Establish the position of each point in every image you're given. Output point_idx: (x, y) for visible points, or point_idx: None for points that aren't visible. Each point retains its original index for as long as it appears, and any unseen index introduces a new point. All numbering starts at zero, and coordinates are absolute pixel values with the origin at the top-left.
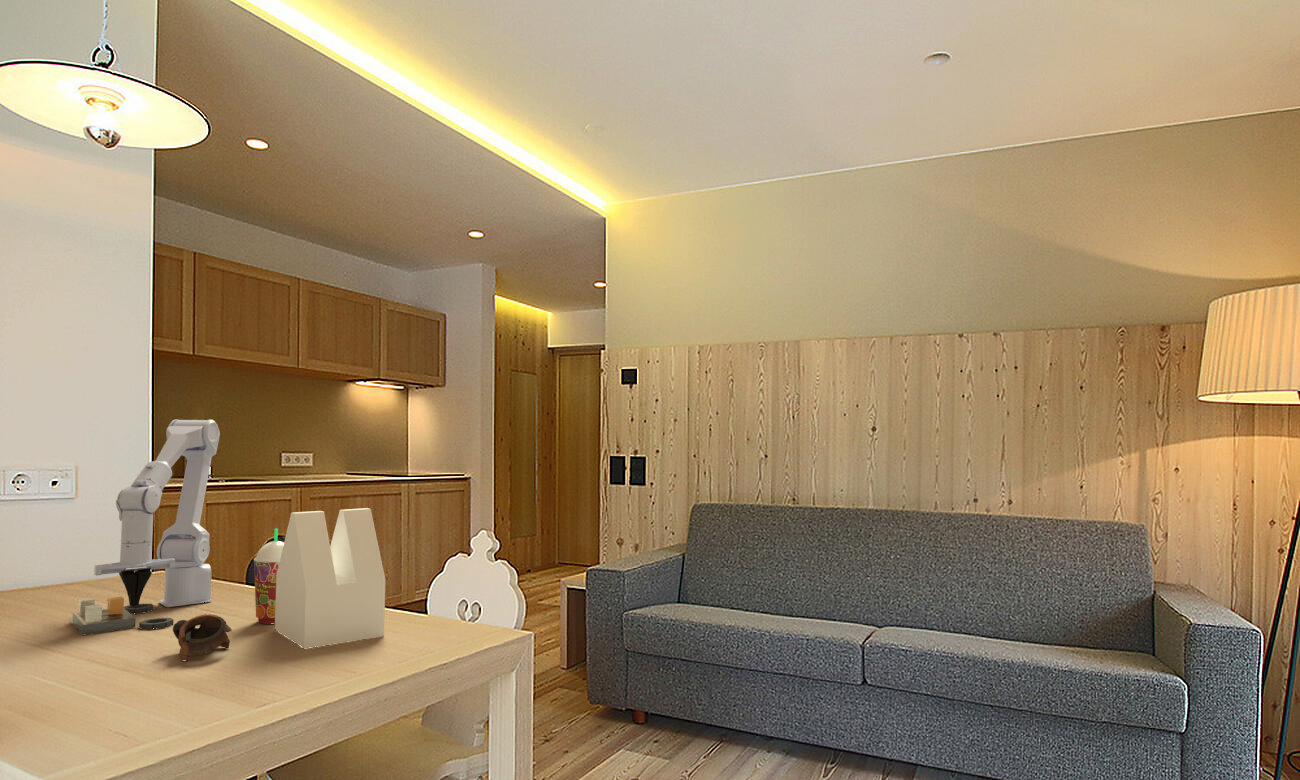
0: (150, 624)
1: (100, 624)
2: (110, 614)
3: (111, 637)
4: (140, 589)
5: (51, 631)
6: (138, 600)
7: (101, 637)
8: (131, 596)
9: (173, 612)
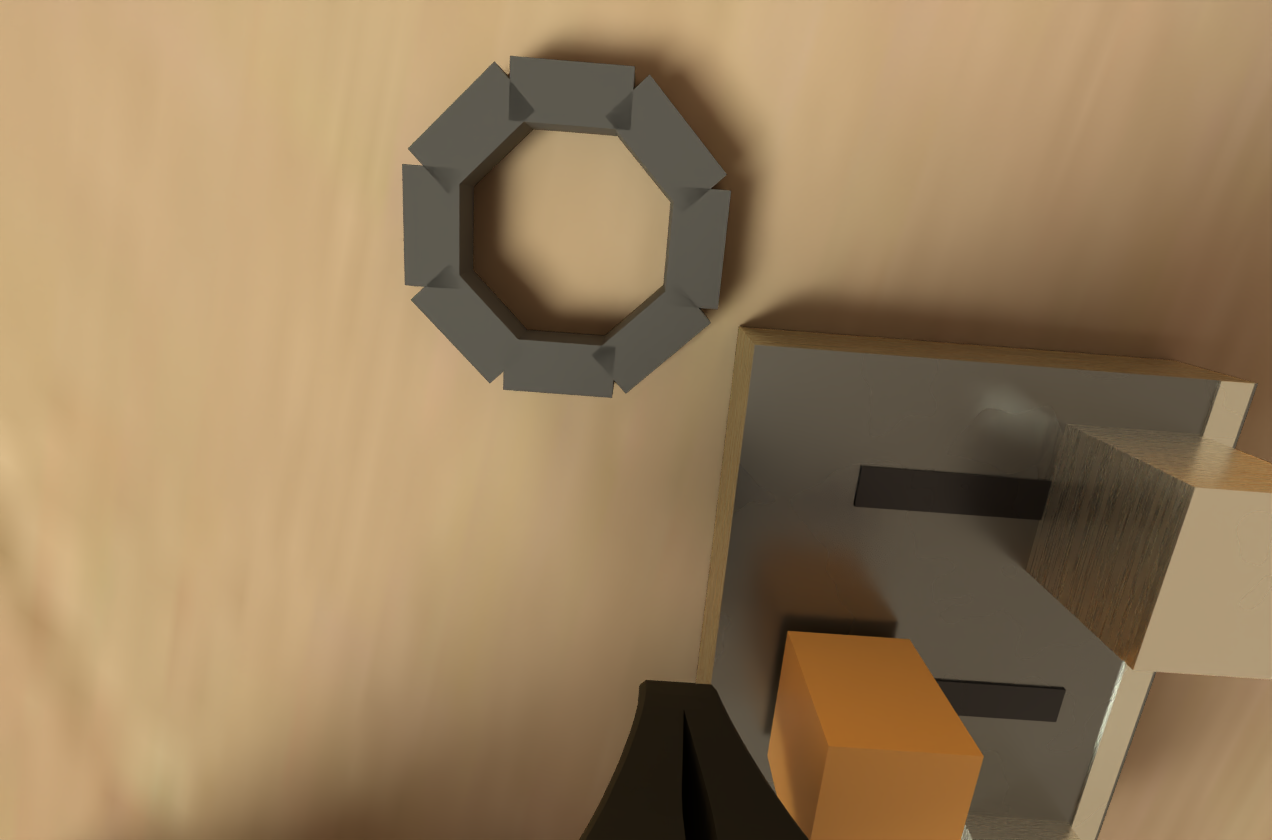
0: (663, 96)
1: (1085, 364)
2: (903, 640)
3: (1055, 25)
4: (638, 814)
5: (1240, 696)
6: (649, 711)
7: (1114, 112)
8: (742, 757)
9: (314, 731)
